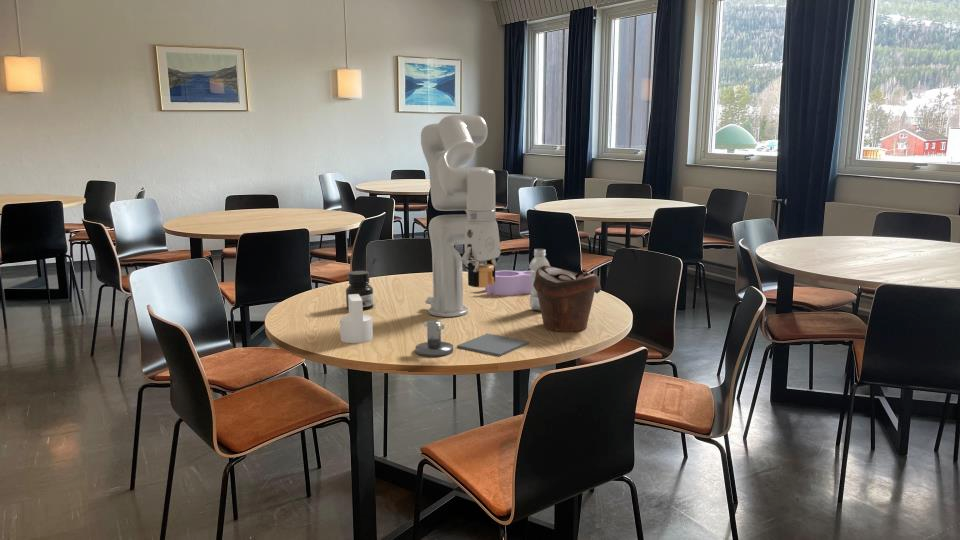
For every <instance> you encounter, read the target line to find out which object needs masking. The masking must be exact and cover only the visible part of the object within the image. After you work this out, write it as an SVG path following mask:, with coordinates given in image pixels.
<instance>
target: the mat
mask: <svg viewBox="0 0 960 540" xmlns="http://www.w3.org/2000/svg"><path fill="white" fill-rule="evenodd" d="M529 343H530V341H529V340H524V339H520V338H519V339H518V338H515V337H508V336H502V335H498V334H497V335H496V334H494V333H493V334H491V333H485V334H483V335H479V336H477V337H475V338H472V339H470V340H467V341H465V342H462V343H460V344H458V345H457V346H456V348H458V349H462V350H467V351H473V352H476V353H477V352H478V353H482V354H486V355H487V354H488V355H491V356H498V357H502V356H504V355H506V354H508V353H510V352H513V351H515V350H518V349H520V348H522V347H524V346H526V345H528V344H529Z"/></svg>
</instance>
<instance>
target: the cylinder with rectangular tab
mask: <svg viewBox="0 0 960 540" xmlns="http://www.w3.org/2000/svg"><path fill="white" fill-rule="evenodd" d="M348 304H349V309H348V315H344V316H341V317H340V318H339V330H340V331H339V332H340V341H341V342H342V343H347V344H362V343H367V342H370V341H372V340H373V339H374V335H373V334H374V333H373V332H374V331H373V317H372V316H371V315H369V314H364V310H363V304H362V299H361V297H360V295H359V294H350V295H348Z"/></svg>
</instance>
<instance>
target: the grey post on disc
mask: <svg viewBox="0 0 960 540" xmlns="http://www.w3.org/2000/svg"><path fill="white" fill-rule="evenodd" d="M441 323H442V322H441V320H439V319H437V320H435V319H433V320H427V321H424V322H423V327H426V333H427V335H426V336H427V338H426V340H427V341H425V342H422V343H419V344H417V345H416V346H415V353H416V355H419V356H422V357H426V358H427V357H428V358H438V357H445V356H448V355H450V354H451V355H452V354H453V352H454V344H452V343H449V342H447V341H446V342H445V341H442V330H444V329H445V324H441Z"/></svg>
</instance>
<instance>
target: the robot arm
mask: <svg viewBox="0 0 960 540" xmlns="http://www.w3.org/2000/svg"><path fill="white" fill-rule="evenodd" d="M488 135H489V133H488V125H487V123H486V121H485V119H484V118H483V117H482V116H480V115H477V114H451V115H446V116H444V117H442V118H441V119H440V121H439V122H438V123H431V124H427V125H425V126H424V127H423V128H422V129H421V132H420V145H421V150H422V153H423V156H424V158H425V161H426V164H427V166H428V173H429V187H430V198H431V199H430V200H431V204H432V206H433V208H434V210H437V211H443V212H444V211H445V212H447V211H448V212H449V211H451V212H453V211H454V212H455V211H465V213H464V214H462V213H461V214H442V215H437V216H435V217H433V218H431V220H430V221H429V224H428V235H429V239H430V244H431V245H430V246H431V256H432V257H431V260H432V261H431V262H432V289H433V290H432V293H433V295H432V296H433V297H432V296H428V297H427V298H426V299H425V304H428V305H430V308H429V309H428V314H430V315H432V316H435V317H443V318H447V317H448V318H450V317H451V318H453V317H458V316H459V317H461V316H464V315H466V314H467V313H468V312H469V310H468V307H467V306H464V294H463V293H464V292H463V291H464V290H463V289H464V288H463V287H464V285H463V283H464V282H463V265H464V267H465V269H466V271H467V285H468V286H469V287H471V286H474V287H473V288H477V287H478V286H479V272H477V269H478V265H479V264H480V263H481V262H482V263H483V262H485V263H484V264H491V265H494V271H492V277H494V282H495V271H496V268H497V266H498V265H497V262H498V261H499V257H500V255H501V254H502V251H501V244H500V243H501V242H500V241H501V240H500V232H499V226H498V222H497V221H496V220H497V219H496V214H497V213H496V211H497V210H496V173H495V171H494V170H493V169H489V168H488V167H486V166H485V167H484V166H473V167H472V166H464V165H466V164H467V163H469V162H471V161H472V159H474V157H475V156H476V152H477V151H476V149H477V148H479V147H481V146H482V145H484V143H485V142H486V140H487V138H488ZM462 166H463V167H462ZM457 245H464V253H463V254H462V256H461V254H460V252H459V251H458V250H456V248H455V246H457ZM473 264H474V266H473ZM478 288H479V287H478Z"/></svg>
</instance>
